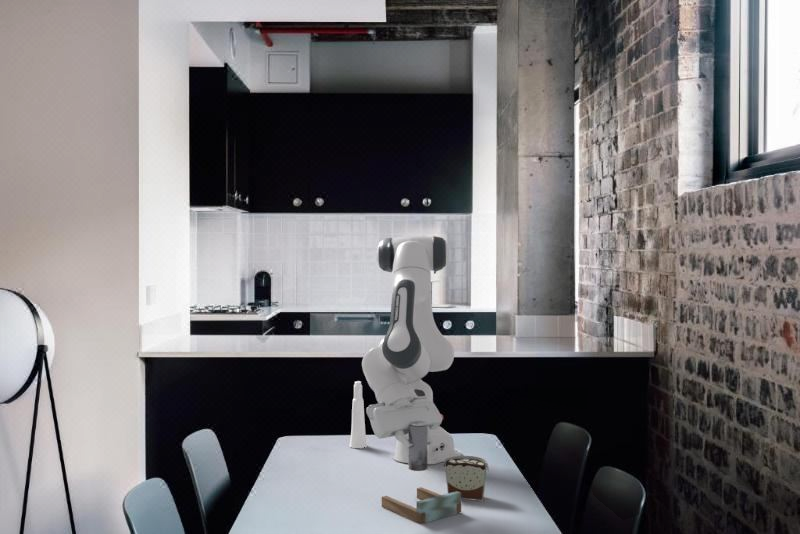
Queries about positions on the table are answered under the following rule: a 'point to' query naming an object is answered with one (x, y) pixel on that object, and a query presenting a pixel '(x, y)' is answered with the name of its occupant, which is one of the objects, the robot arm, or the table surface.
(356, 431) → the cosmetic bottle
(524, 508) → the table surface
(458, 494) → the keeper cradle
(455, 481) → the food container
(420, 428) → the drinking glass
